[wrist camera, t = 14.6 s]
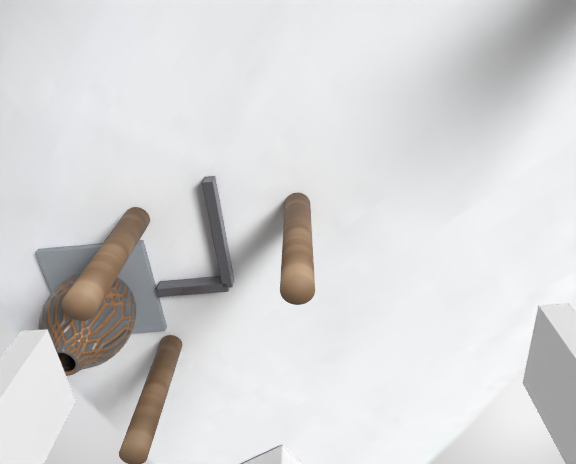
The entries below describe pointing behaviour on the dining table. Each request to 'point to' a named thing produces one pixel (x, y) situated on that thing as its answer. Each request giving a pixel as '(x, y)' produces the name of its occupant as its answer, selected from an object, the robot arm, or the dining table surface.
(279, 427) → the dining table surface
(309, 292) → the posts
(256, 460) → the milk carton
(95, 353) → the vase
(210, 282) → the grey l-shaped bracket
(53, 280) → the pad
